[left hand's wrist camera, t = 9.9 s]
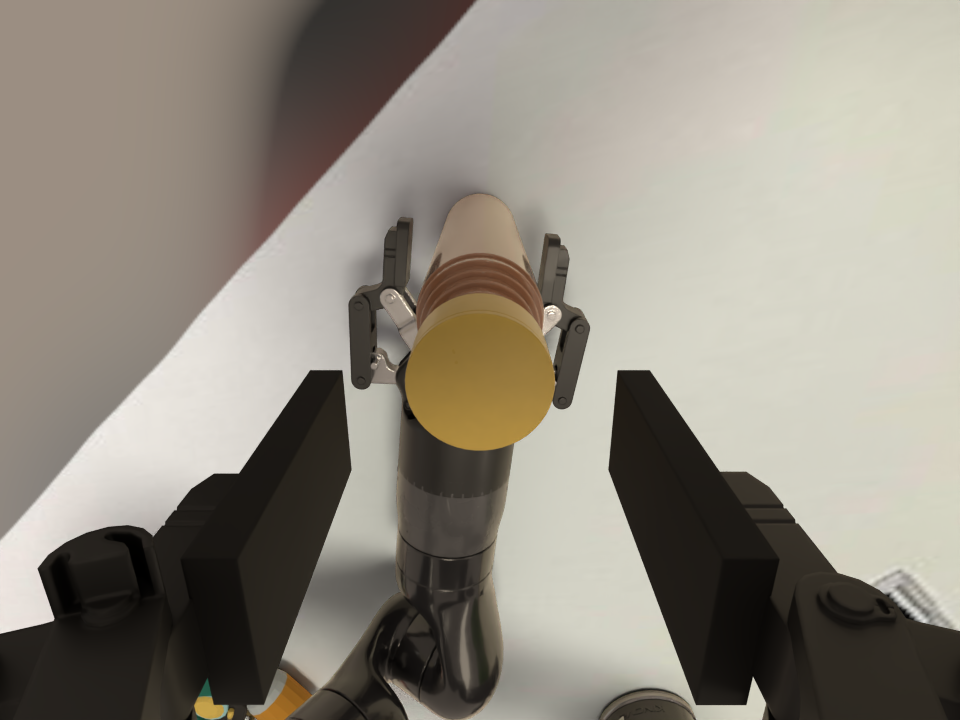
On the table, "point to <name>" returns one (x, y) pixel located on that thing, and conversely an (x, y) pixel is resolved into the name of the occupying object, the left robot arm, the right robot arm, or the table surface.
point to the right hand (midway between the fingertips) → (479, 227)
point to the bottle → (479, 259)
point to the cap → (479, 373)
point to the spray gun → (269, 716)
